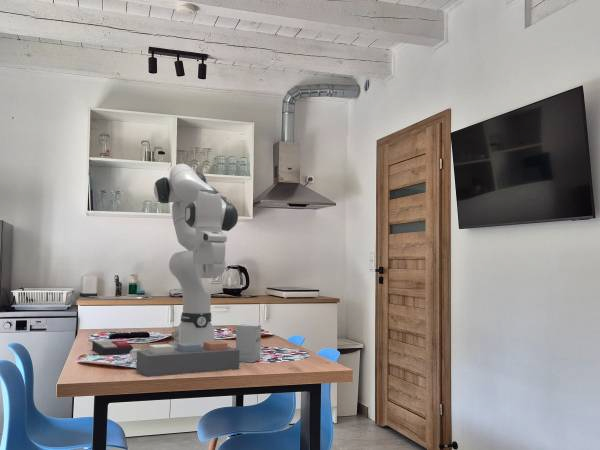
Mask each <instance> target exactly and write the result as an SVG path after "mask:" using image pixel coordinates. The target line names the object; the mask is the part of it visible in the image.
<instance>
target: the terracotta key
mask: <svg viewBox="0 0 600 450" xmlns="http://www.w3.org/2000/svg"><path fill="white" fill-rule="evenodd" d="M227 346H228V343H227V342H224V341H221V340H219V341H218V340H215V341H213V342H203V349H206V350H209V351H214V350H227Z"/></svg>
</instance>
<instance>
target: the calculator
mask: <svg viewBox="0 0 600 450" xmlns="http://www.w3.org/2000/svg"><path fill="white" fill-rule="evenodd" d="M91 348H92V349H91V350H92V352H94V353H97V354H99V355H101V356H103V357H104V356H116V355H117V356H118V355H130V351H131V350H132V349H134V346H133V345H132V344H130V343H128V342H127V341H124V340H122V339H120V338H119V339H118V338H117V339H103V340H102V339H100V340H94V341H92V346H91ZM131 354H132V351H131Z"/></svg>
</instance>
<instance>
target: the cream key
mask: <svg viewBox="0 0 600 450" xmlns="http://www.w3.org/2000/svg"><path fill="white" fill-rule="evenodd" d="M148 350H149V352H150V353H152V354H167V353H174V346H172V345H169V343H166V344H165V343H161V344H149V346H148Z"/></svg>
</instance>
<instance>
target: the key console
mask: <svg viewBox="0 0 600 450" xmlns="http://www.w3.org/2000/svg"><path fill="white" fill-rule="evenodd" d="M135 363H136V367H135V370H136V371H137V372H139V373H140V374H142V375H144V376H146V377H159V376H161V377H162V376H169V375H182V374H193V373H194V374H195V372H196V373H207V372H206V371H208V372H216V371H218V370H220V371H229V370H228V369H232V370H239V369H240V361H239V350H237V349H236V348H234V347H230V346H228V345H227V350H214V351H209V350H206V349H203V347H201V351H198V352H183V353H182V352H180V351H178V350H177V348H174V353H167V354H152V353H150V352H149V349H145V350H144V349H143V350H142V349H141V351H137V361H136V362H135Z"/></svg>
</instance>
